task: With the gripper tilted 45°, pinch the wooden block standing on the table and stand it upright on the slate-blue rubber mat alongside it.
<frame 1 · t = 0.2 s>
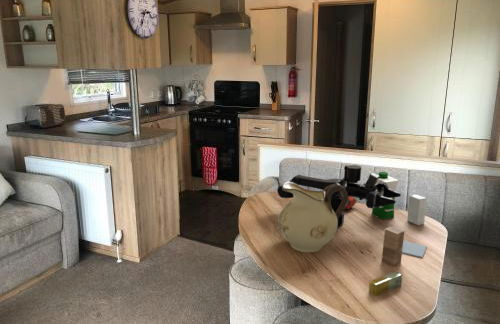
hand: (398, 198, 155), 17 cm above the table, tool horizontal, fingers open, 9 cm apart
pitcher: (307, 245, 153), on the table
wooden block: (391, 262, 140), on the table
skincare box: (415, 222, 174), on the table
medication box: (385, 289, 124), on the table
slate-blue rubber mat: (410, 249, 149), on the table
milk carton: (382, 216, 181), on the table
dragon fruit: (344, 208, 190), on the table
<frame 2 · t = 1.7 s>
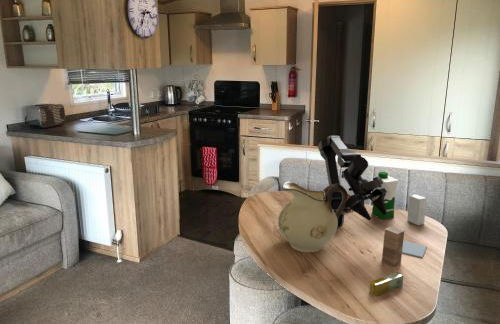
hand: (378, 217, 143), 14 cm above the table, tool tilted 45°, fingers open, 9 cm apart
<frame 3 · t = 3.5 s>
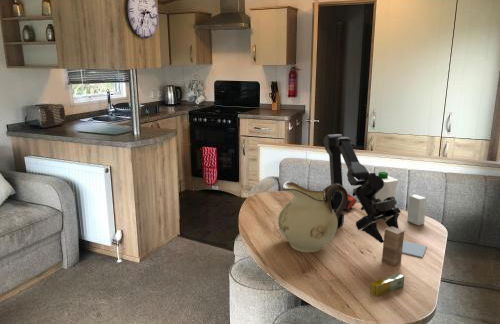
hand: (391, 239, 138), 9 cm above the table, tool tilted 45°, fingers open, 9 cm apart
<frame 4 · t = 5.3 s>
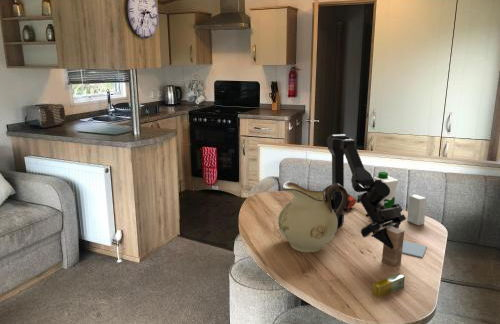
hand: (396, 246, 137), 7 cm above the table, tool tilted 45°, fingers closed on wooden block, 4 cm apart
wooden block: (391, 262, 140), on the table, touching gripper
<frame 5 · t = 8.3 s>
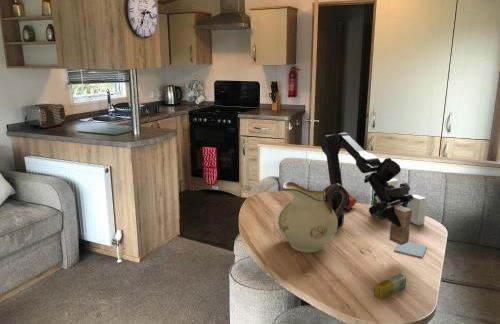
hand: (404, 225, 138), 13 cm above the table, tool tilted 45°, fingers closed on wooden block, 4 cm apart
wooden block: (398, 241, 141), point 7 cm above the table, touching gripper
when the fingers open (9 cm above the table, at t = 11.3 s): wooden block drops 1 cm, resting on slate-blue rubber mat.
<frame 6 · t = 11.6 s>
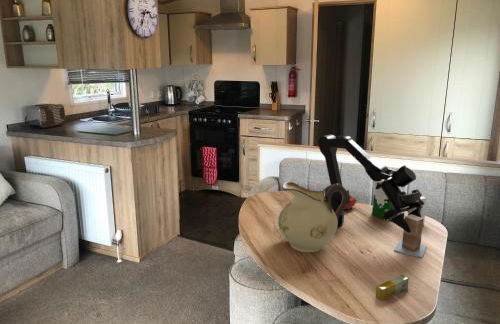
hand: (416, 229, 146), 9 cm above the table, tool tilted 45°, fingers open, 8 cm apart
wooden block: (410, 248, 149), point 1 cm above the table, touching slate-blue rubber mat
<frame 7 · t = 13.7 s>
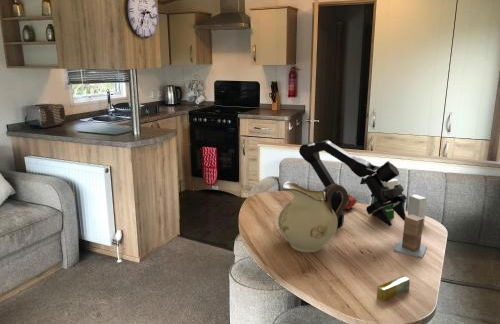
hand: (398, 223, 152), 8 cm above the table, tool tilted 45°, fingers open, 9 cm apart
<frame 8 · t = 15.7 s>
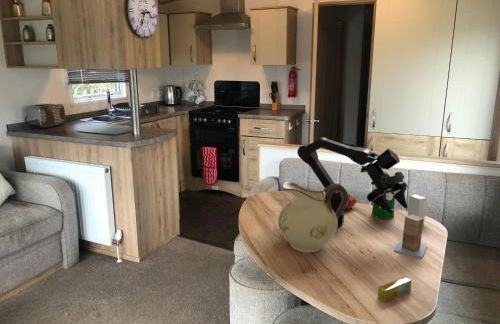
hand: (399, 210, 151), 14 cm above the table, tool tilted 45°, fingers open, 9 cm apart
at the end: wooden block inside the target area (0.1 cm from its centre), point 0.5 cm above the table; wooden block tilted 0°; the gripper is holding nothing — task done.
